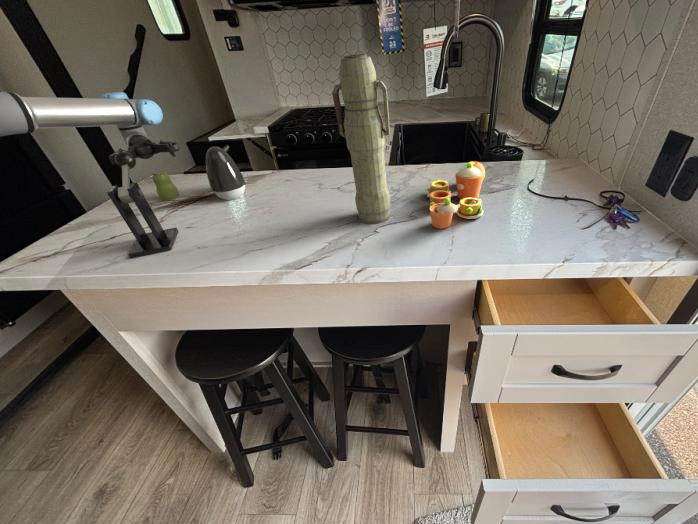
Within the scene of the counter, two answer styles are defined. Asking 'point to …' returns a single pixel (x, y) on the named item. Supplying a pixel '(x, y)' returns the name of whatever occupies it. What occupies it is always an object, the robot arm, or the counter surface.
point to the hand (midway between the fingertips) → (149, 157)
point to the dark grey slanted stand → (144, 241)
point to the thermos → (364, 135)
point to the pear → (165, 186)
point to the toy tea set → (467, 192)
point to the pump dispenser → (224, 174)
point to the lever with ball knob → (125, 174)
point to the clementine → (478, 167)
